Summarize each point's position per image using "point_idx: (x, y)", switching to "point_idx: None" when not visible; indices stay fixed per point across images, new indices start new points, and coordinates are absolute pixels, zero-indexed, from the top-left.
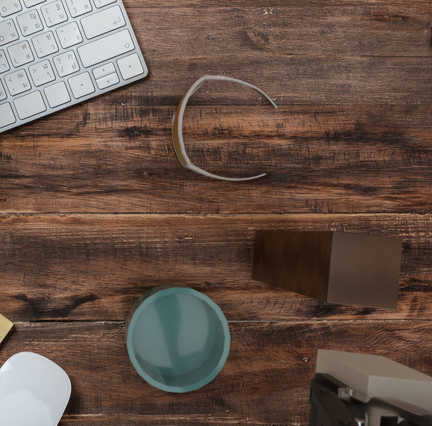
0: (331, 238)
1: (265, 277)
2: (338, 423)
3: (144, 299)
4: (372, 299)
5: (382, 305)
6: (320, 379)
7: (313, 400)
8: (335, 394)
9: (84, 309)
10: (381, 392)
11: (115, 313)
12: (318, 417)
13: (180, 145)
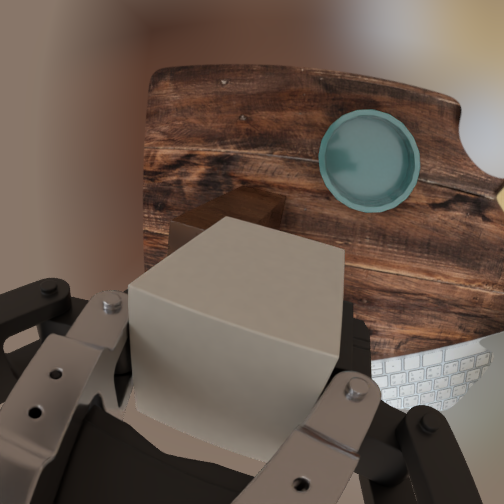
0: None
1: (277, 208)
2: None
3: (396, 205)
4: (192, 234)
5: (183, 227)
6: None
7: (410, 485)
8: (361, 479)
9: (441, 196)
10: (259, 445)
11: (416, 186)
12: None
13: None
